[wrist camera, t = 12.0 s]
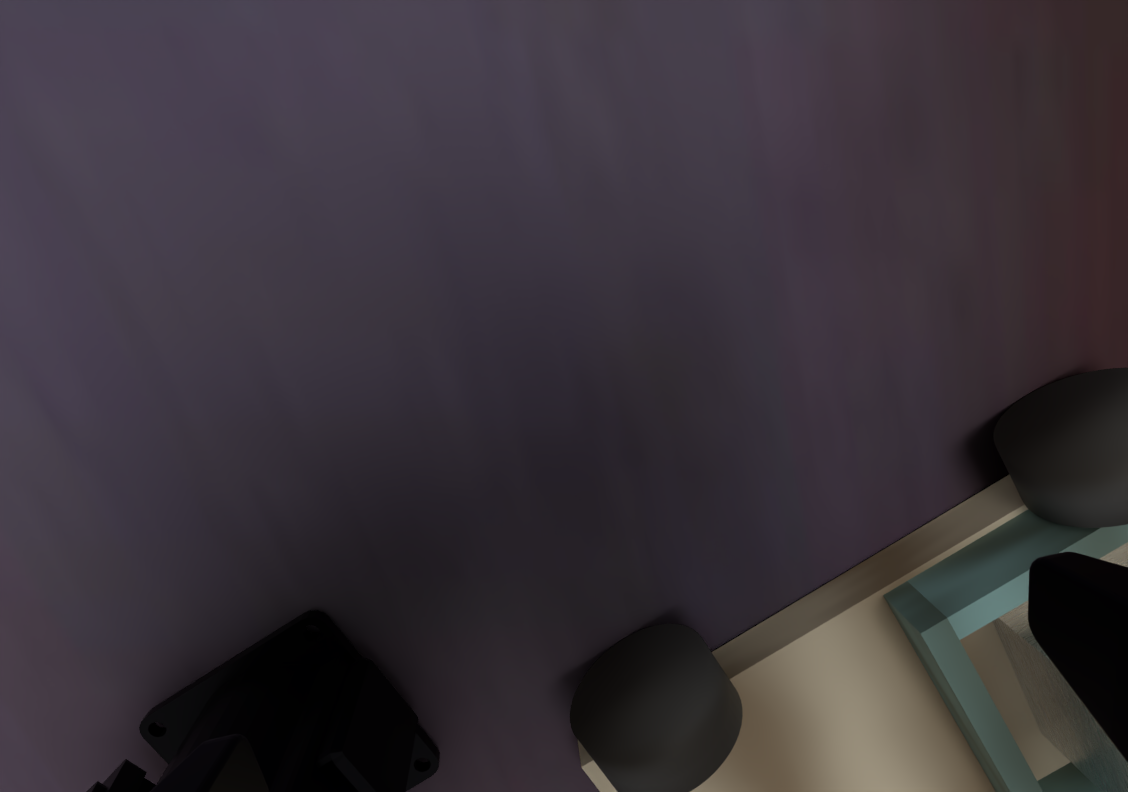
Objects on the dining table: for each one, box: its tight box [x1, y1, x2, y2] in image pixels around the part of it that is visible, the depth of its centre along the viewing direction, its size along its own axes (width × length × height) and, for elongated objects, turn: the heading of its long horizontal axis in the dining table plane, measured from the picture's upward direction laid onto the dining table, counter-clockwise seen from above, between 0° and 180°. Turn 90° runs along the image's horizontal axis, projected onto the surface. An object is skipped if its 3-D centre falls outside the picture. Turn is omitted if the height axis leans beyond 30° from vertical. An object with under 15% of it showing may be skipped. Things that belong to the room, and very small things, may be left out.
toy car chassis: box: [570, 368, 1128, 792], centre depth 22 cm, size 20×14×4 cm
